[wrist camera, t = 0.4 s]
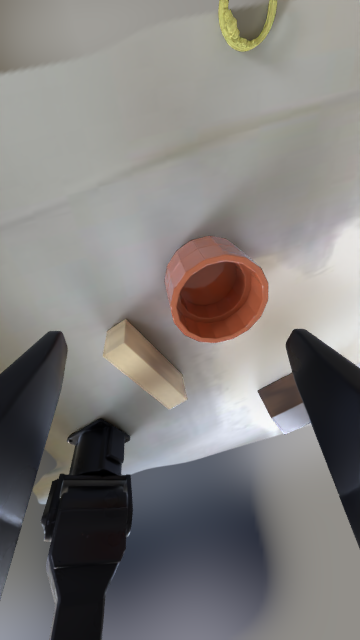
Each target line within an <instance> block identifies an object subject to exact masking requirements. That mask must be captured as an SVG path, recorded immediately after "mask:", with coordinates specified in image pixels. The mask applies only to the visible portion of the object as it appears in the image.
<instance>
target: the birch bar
mask: <svg viewBox="0 0 360 640" xmlns="http://www.w3.org/2000/svg"><path fill="white" fill-rule="evenodd" d="M103 357H104V358H105V359H107V360H108V361H109V362H110V363H112V364H113V365H114V366H115V367H117V368H118V369H119V370H120V371H122V372H123V373H124V374H125V375H127V376H128V377H129V378H130V379H132V380H133V381H134V382H135V383H137V384H138V385H139V386H140V387H142V388H143V389H144V390H145V391H146V392H148V393H149V394H150V395H151V396H153V397H154V398H155V399H156V400H158V401H159V402H160V403H161V404H163V405H164V406H165V407H166V408H168V409H169V410H170V409H172V408H173V407H175V406H177V405H179V404H181V403H183V402H184V401H186V400H187V395H186V391H185V386H184V381H183V376H182V374H181V373H180V372H179V371H178V370H177V369H176V368H175V367H174V366H173V365H172V364H171V363H170V362H169V361H168V360H167V359H166V358H165V357H164V356H163V355H162V354H161V353H160V352H159V351H158V350H157V349H156V348H155V347H154V346H153V345H152V344H151V343H150V342H149V341H148V340H147V339H146V338H145V337H144V336H143V335H142V334H141V333H140V332H139V331H138V330H136V329H135V328H134V327H133V326H132V325H131V324H130V323H129V322H128V321H127V320H126V319H125V320H123V321H122V322H120V323H119V324H117V325H116V326H114V327H113V328H111V329H110V330H108V331H107V334H106V340H105V346H104V352H103Z"/></svg>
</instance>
